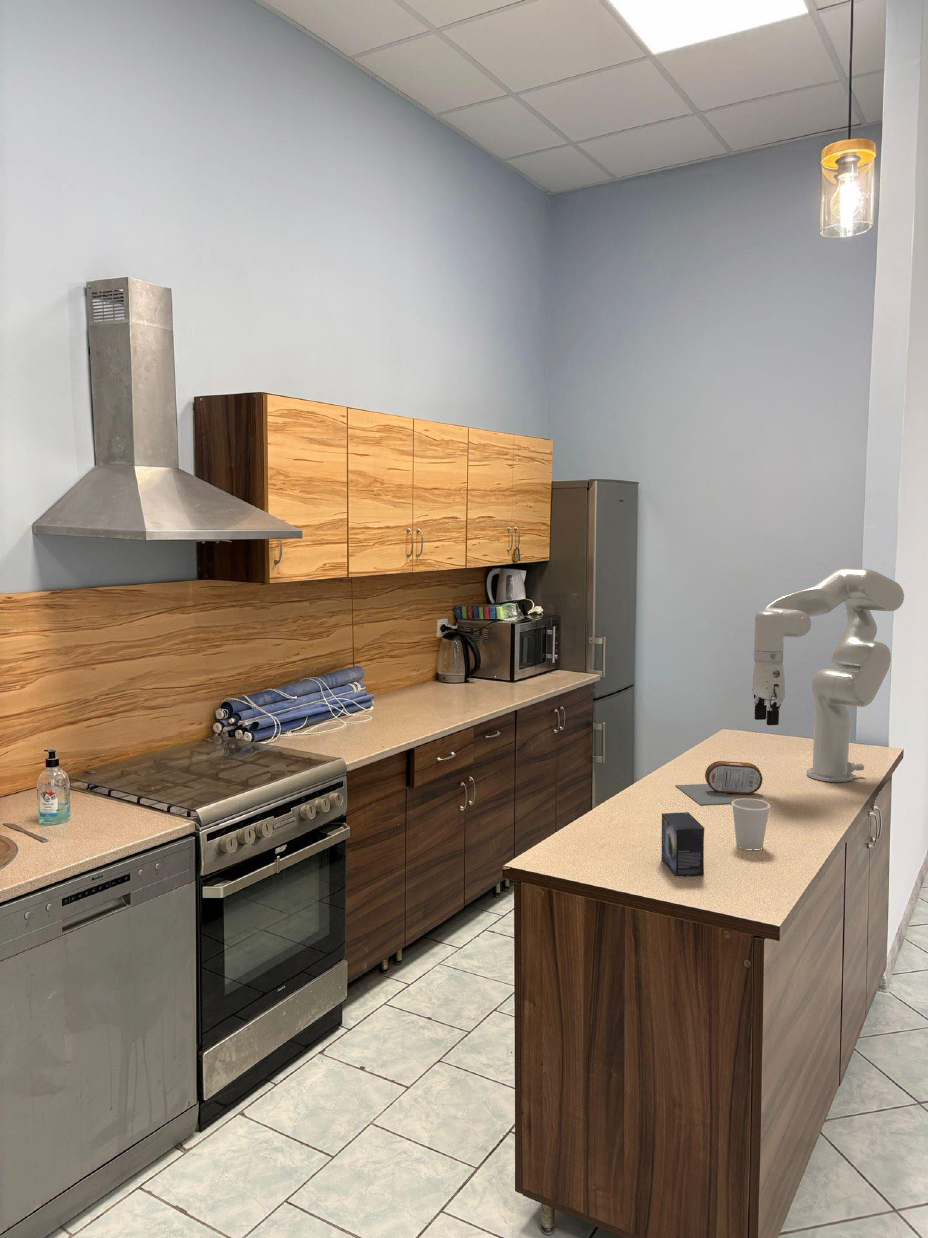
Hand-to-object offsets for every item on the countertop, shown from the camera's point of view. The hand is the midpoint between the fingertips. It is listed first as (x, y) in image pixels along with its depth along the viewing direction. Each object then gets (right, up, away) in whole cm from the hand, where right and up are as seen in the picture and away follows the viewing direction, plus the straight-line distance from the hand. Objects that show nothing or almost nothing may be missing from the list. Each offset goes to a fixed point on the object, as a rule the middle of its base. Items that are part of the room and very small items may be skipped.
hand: (766, 721), depth 245 cm
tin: (-9, -20, +1) cm, 22 cm away
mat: (-16, -20, 0) cm, 26 cm away
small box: (-36, -25, -53) cm, 69 cm away
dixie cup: (-17, -24, -41) cm, 50 cm away
